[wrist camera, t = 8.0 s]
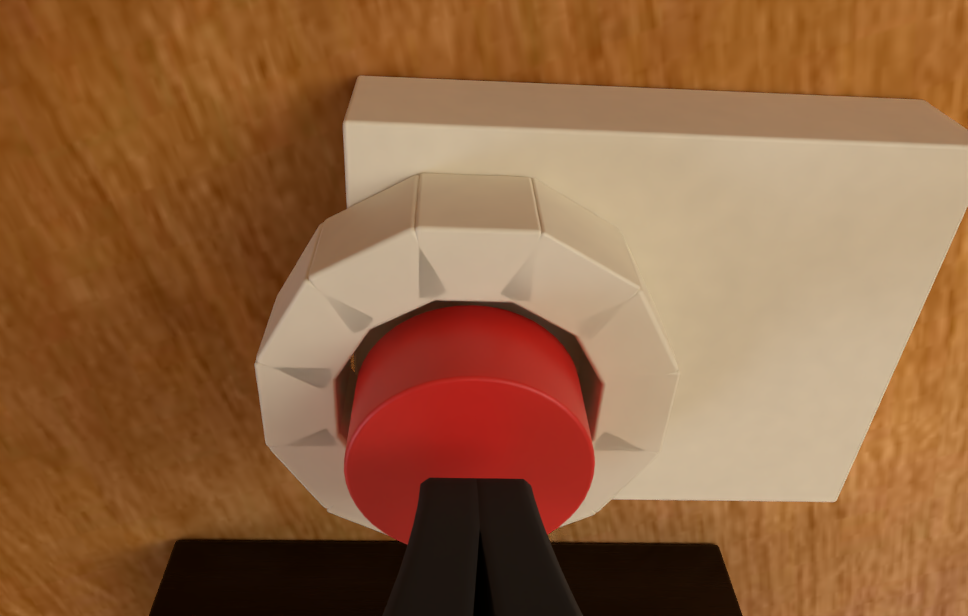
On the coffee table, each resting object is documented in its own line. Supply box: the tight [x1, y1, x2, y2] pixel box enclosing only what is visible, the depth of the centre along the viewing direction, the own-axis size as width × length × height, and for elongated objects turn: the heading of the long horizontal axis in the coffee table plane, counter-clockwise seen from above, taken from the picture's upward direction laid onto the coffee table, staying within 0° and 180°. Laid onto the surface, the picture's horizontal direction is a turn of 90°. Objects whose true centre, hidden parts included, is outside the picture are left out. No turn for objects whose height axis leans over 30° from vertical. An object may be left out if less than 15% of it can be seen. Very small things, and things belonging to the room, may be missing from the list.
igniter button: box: [344, 305, 595, 545], centre depth 12 cm, size 4×4×2 cm
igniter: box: [254, 76, 968, 535], centre depth 14 cm, size 11×8×4 cm
